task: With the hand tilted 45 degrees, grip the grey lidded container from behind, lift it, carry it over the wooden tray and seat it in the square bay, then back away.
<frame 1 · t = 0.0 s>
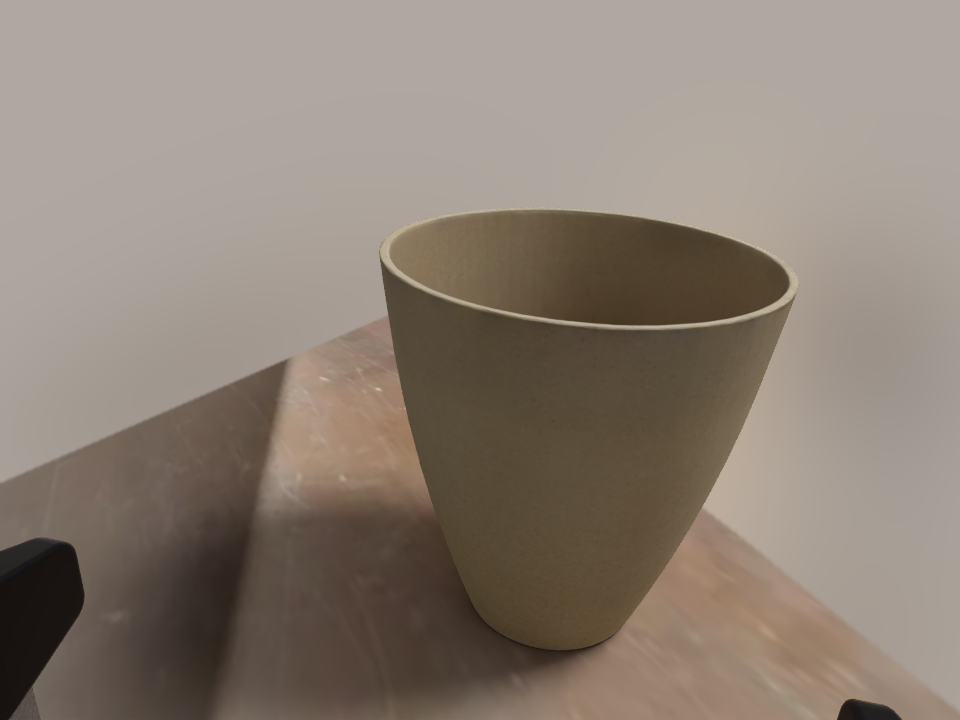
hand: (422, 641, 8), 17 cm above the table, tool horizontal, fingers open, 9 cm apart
plant pot: (546, 596, 34), on the table
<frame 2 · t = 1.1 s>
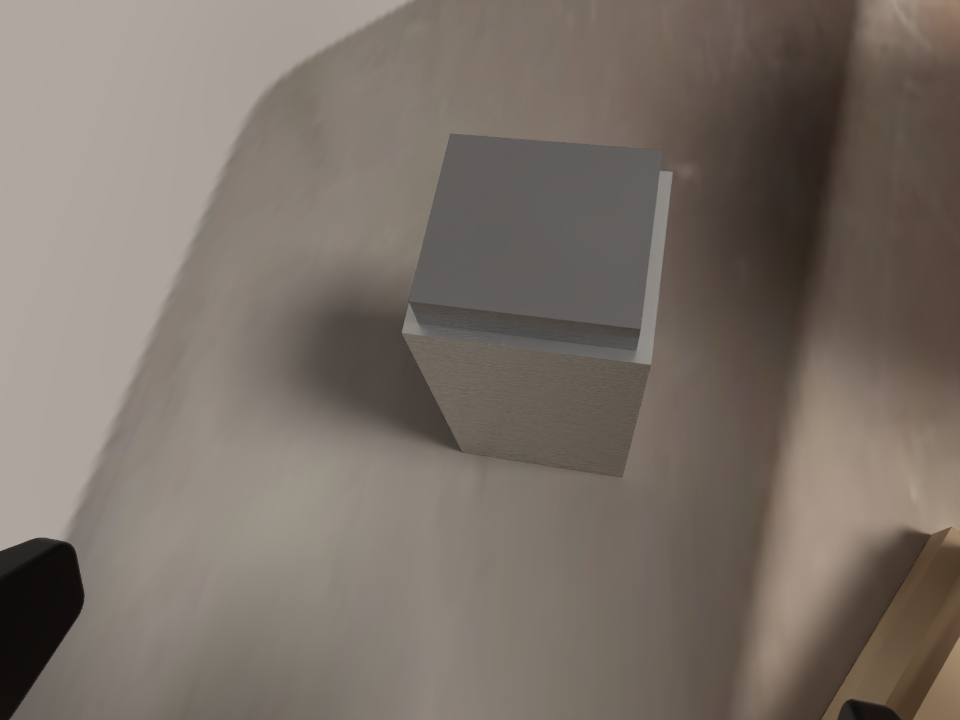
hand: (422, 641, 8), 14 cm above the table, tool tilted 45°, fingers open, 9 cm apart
grey lidded container: (551, 396, 24), on the table
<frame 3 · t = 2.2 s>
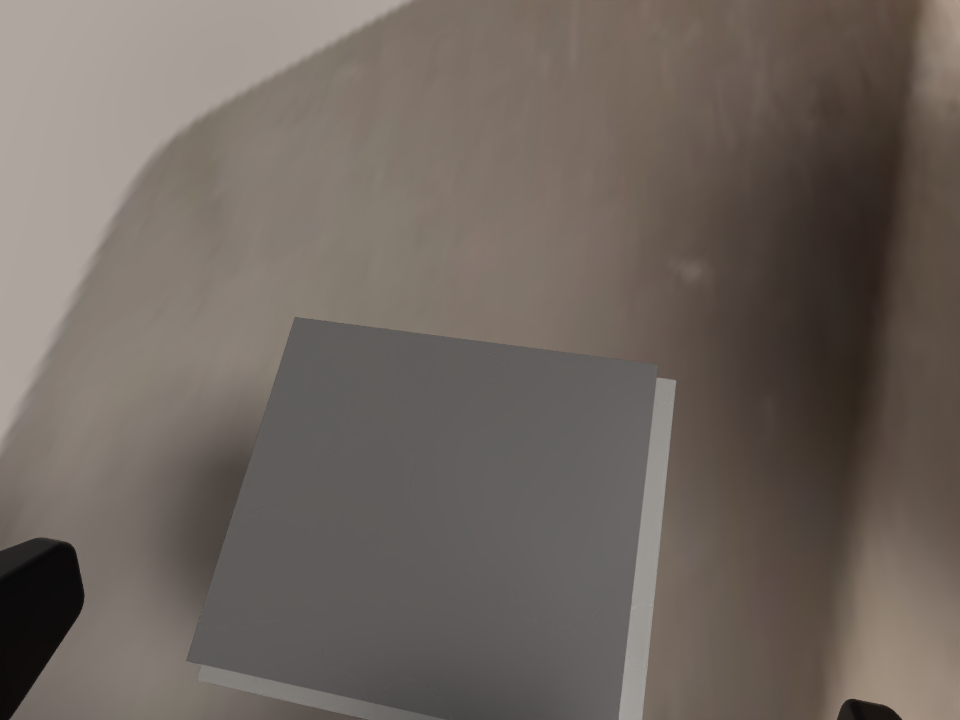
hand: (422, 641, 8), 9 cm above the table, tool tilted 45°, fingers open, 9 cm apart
grey lidded container: (507, 597, 17), on the table
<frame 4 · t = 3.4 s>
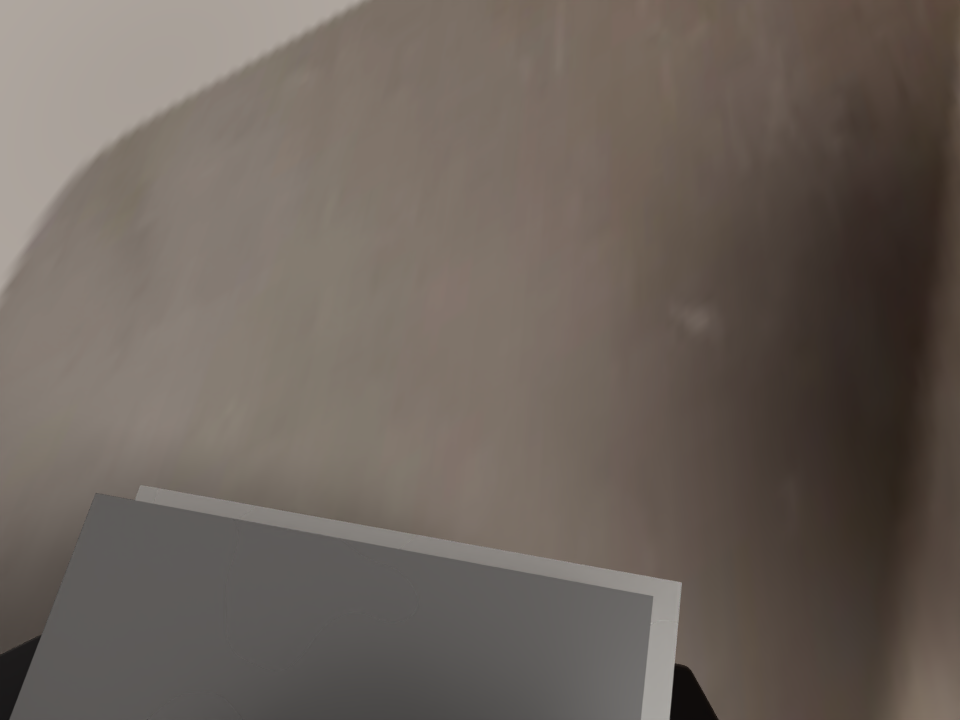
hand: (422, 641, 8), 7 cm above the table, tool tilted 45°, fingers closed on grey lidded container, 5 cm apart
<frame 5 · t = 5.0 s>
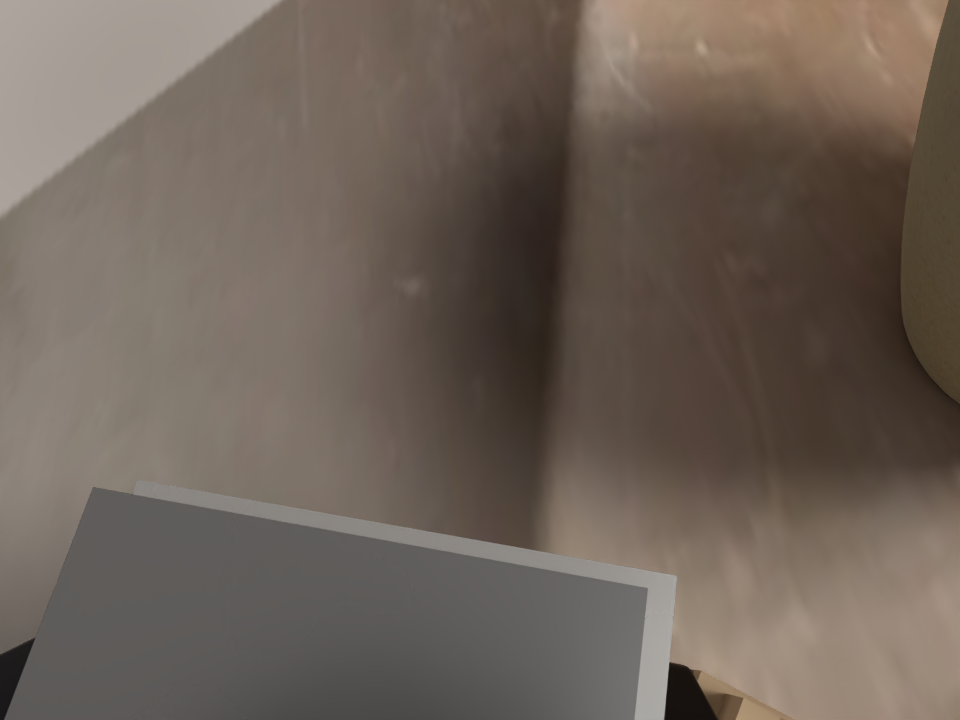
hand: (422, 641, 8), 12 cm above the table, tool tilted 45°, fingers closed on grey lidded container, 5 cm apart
when the fingers open (9 cm above the table, at t = 6.7 s): grey lidded container stays where it is, resting on wooden tray.
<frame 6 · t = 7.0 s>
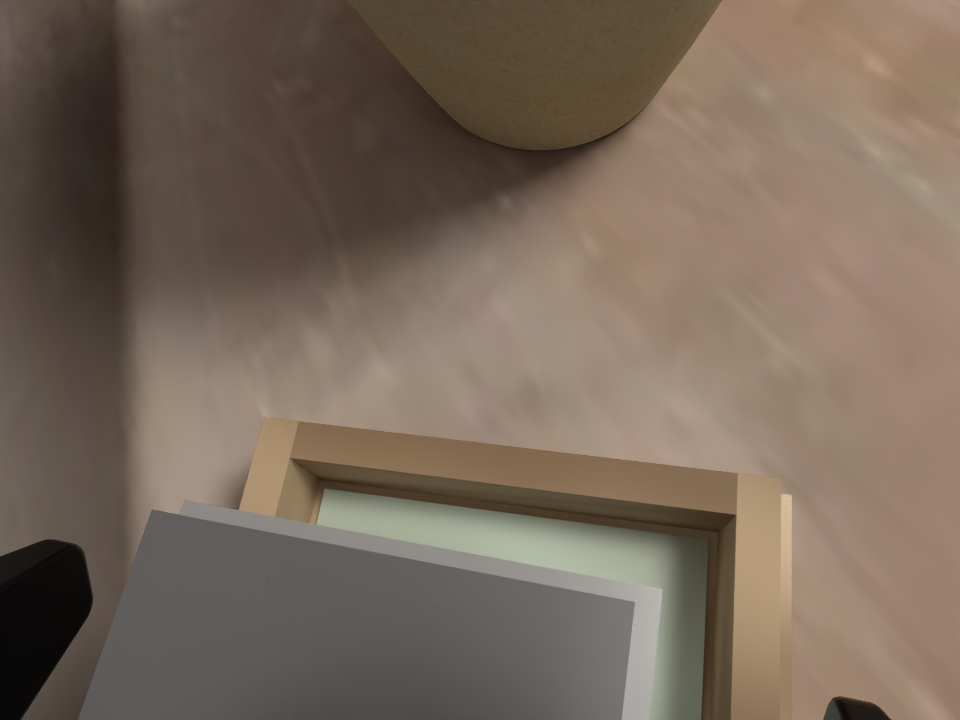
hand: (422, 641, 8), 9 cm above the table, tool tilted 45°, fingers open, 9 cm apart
plant pot: (543, 64, 23), on the table
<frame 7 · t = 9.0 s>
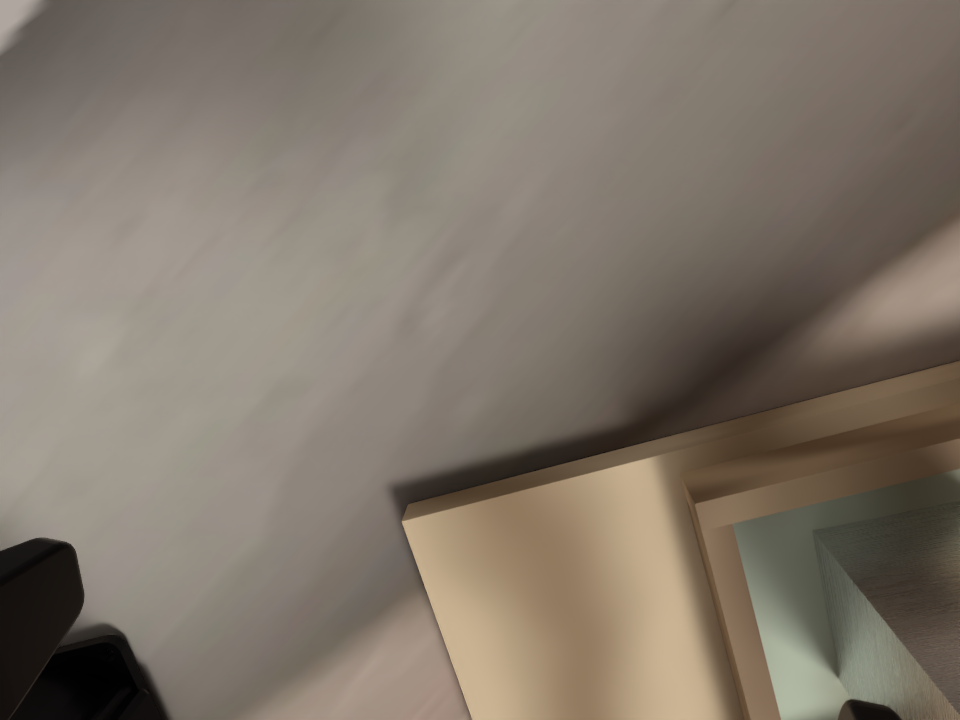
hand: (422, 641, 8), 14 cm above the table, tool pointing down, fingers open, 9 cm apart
grey lidded container: (904, 591, 21), point 1 cm above the table, touching wooden tray
wooden tray: (752, 600, 23), on the table
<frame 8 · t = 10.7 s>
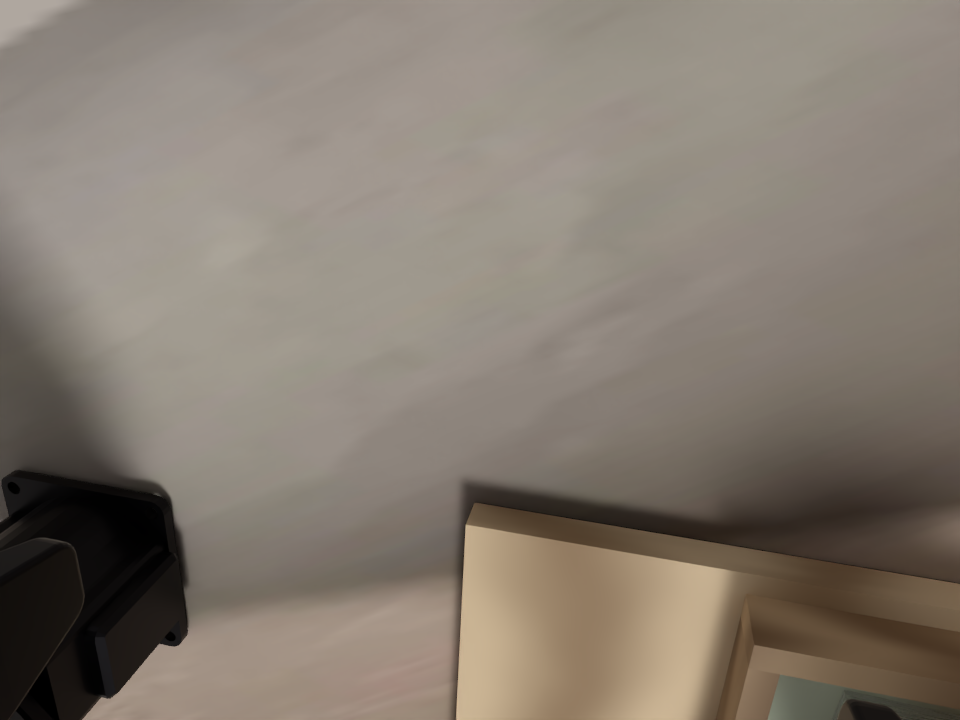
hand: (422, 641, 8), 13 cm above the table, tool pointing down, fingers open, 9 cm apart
wooden tray: (752, 706, 24), on the table
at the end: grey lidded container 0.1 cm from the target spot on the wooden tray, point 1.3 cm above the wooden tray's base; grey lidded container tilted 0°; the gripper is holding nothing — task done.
